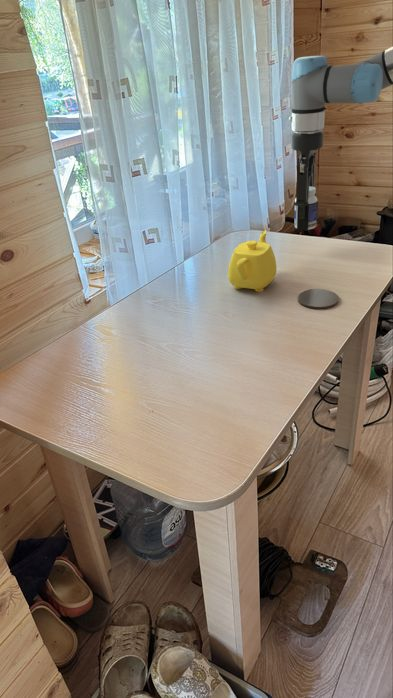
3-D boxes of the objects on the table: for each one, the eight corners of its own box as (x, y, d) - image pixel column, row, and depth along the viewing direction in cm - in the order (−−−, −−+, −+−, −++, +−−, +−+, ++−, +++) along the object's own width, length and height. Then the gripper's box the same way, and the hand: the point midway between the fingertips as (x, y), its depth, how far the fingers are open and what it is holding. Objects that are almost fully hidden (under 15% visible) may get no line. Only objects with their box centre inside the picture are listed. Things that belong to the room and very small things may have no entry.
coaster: (340, 292, 118) (340, 290, 118) (336, 311, 111) (336, 308, 110) (301, 289, 121) (301, 287, 120) (294, 307, 114) (294, 304, 113)
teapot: (245, 265, 135) (244, 226, 129) (286, 270, 130) (287, 229, 124) (218, 295, 121) (215, 252, 115) (262, 302, 117) (262, 257, 111)
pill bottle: (321, 226, 134) (322, 187, 128) (305, 232, 131) (306, 193, 126) (305, 221, 138) (306, 184, 132) (289, 227, 135) (289, 189, 130)
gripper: (298, 124, 131) (296, 214, 143) (283, 139, 116) (283, 237, 128) (328, 123, 128) (324, 214, 140) (317, 138, 113) (313, 239, 126)
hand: (304, 225), depth 134 cm, fingers closed on pill bottle, 6 cm apart
